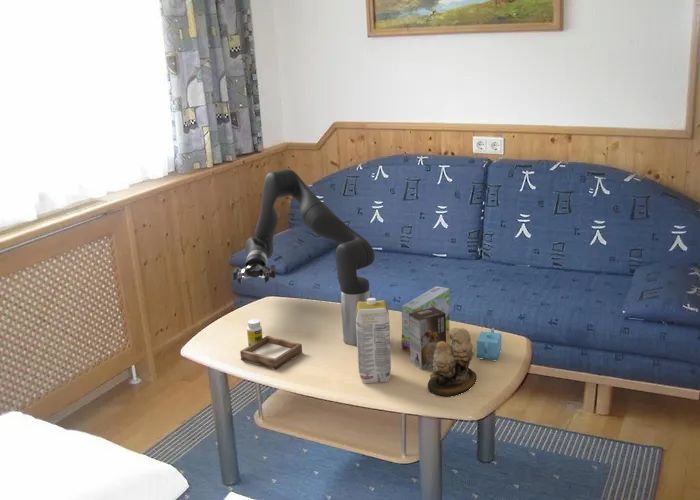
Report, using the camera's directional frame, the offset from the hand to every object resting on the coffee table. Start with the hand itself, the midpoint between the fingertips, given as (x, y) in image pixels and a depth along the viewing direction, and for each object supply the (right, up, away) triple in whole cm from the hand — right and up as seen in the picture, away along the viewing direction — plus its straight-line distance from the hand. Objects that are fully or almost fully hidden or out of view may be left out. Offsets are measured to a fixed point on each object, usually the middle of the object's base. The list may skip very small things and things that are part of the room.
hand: (252, 280), depth 239 cm
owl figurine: (+61, -28, -35) cm, 76 cm away
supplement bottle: (+2, -21, -4) cm, 21 cm away
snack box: (+57, -19, -7) cm, 60 cm away
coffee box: (+56, -24, -22) cm, 64 cm away
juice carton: (+39, -27, -30) cm, 56 cm away
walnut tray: (+8, -23, -13) cm, 28 cm away
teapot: (+74, -22, -20) cm, 80 cm away
